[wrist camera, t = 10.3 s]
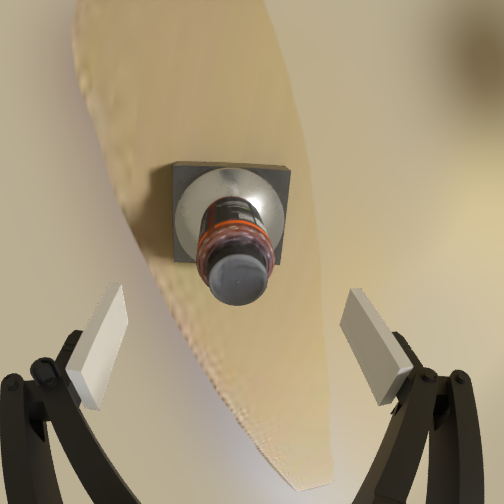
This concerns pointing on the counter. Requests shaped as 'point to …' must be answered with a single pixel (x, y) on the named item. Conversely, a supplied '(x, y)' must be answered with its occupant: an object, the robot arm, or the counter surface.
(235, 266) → the supplement bottle
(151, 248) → the counter surface
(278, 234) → the kitchen scale
